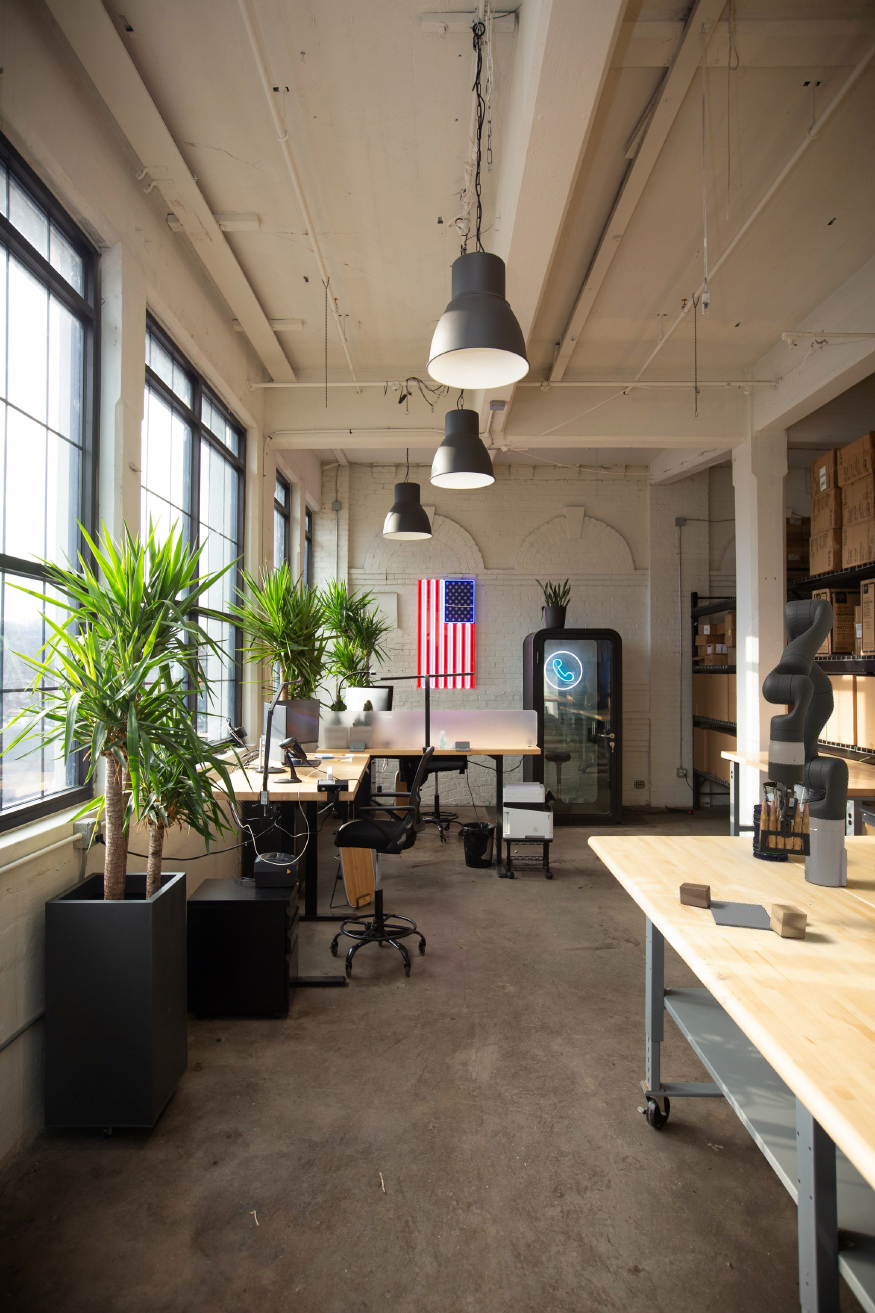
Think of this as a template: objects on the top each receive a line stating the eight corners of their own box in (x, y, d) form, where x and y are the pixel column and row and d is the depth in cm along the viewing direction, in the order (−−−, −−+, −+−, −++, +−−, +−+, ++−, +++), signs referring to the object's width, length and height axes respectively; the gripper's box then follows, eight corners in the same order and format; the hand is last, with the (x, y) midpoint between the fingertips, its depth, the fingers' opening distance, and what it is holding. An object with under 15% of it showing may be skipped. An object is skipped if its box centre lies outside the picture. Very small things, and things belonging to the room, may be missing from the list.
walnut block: (685, 899, 171) (684, 882, 171) (710, 902, 167) (710, 885, 168) (680, 903, 167) (679, 886, 168) (706, 907, 164) (705, 890, 164)
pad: (761, 906, 167) (761, 905, 167) (775, 931, 151) (776, 929, 151) (707, 901, 170) (707, 899, 170) (716, 924, 154) (716, 922, 154)
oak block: (792, 929, 152) (795, 906, 152) (804, 938, 147) (807, 914, 147) (769, 926, 152) (772, 903, 152) (780, 936, 147) (783, 912, 147)
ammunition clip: (808, 854, 162) (809, 802, 162) (810, 856, 160) (811, 803, 161) (758, 849, 165) (759, 798, 165) (759, 851, 163) (760, 799, 163)
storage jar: (745, 855, 214) (745, 805, 214) (768, 852, 218) (768, 803, 218) (773, 863, 204) (773, 811, 205) (796, 860, 209) (797, 809, 209)
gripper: (812, 765, 156) (810, 844, 155) (796, 758, 169) (794, 831, 168) (775, 763, 157) (773, 841, 157) (762, 756, 171) (760, 828, 170)
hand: (784, 836), depth 163 cm, fingers closed on ammunition clip, 2 cm apart
